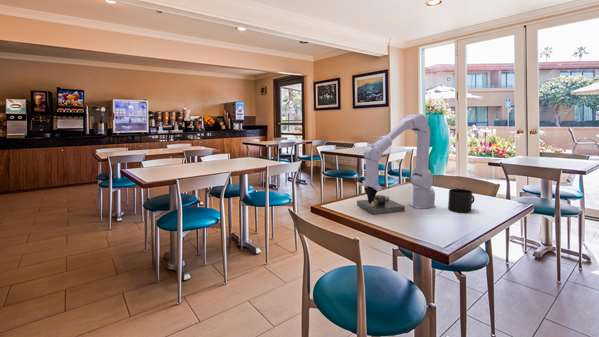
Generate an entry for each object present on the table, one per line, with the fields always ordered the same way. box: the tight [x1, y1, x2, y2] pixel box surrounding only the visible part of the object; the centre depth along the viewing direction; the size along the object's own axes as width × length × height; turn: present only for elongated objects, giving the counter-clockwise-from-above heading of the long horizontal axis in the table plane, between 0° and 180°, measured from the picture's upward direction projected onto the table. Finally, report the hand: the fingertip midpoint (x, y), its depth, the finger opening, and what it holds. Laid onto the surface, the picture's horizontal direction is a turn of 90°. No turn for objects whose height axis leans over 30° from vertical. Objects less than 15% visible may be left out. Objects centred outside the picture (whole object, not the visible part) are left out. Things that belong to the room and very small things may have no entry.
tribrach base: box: [356, 196, 406, 215], centre depth 151 cm, size 16×16×4 cm
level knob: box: [371, 194, 386, 206], centre depth 148 cm, size 10×5×3 cm, turn 141°
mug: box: [448, 188, 475, 214], centre depth 146 cm, size 9×12×9 cm
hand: (371, 203), depth 147 cm, fingers closed, pressing on level knob
